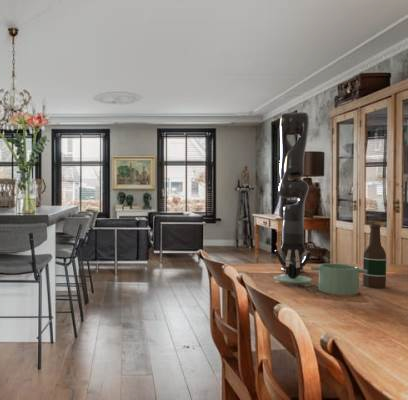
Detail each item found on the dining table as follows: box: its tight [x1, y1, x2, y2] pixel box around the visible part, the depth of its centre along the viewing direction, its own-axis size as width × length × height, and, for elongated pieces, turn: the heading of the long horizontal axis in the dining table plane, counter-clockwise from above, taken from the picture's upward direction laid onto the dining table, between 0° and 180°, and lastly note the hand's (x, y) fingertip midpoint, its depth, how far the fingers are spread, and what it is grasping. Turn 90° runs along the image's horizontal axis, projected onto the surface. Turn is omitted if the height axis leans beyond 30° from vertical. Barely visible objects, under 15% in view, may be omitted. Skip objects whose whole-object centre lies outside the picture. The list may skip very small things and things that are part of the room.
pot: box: [310, 263, 367, 296], centre depth 159 cm, size 13×18×10 cm
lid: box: [273, 263, 313, 284], centre depth 170 cm, size 14×14×7 cm
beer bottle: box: [362, 223, 387, 289], centre depth 170 cm, size 8×8×24 cm
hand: (292, 276), depth 170 cm, fingers closed on lid, 2 cm apart
